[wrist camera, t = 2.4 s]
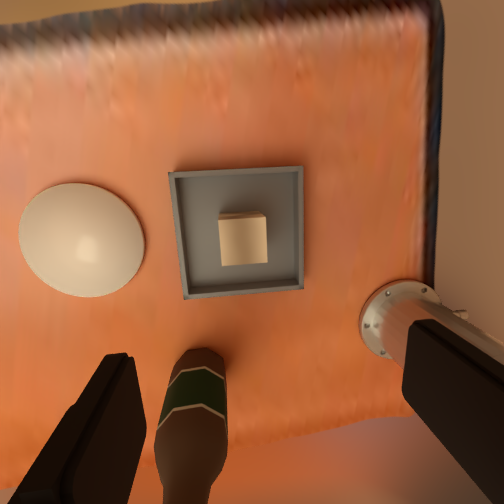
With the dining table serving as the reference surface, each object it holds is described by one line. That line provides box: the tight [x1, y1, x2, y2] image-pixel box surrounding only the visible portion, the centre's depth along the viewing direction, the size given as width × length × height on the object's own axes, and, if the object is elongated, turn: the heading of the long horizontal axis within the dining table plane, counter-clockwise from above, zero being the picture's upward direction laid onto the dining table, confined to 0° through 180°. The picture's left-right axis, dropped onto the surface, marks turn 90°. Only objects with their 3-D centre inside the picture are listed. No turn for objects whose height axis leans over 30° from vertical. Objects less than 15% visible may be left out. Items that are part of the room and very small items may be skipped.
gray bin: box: [168, 166, 304, 300], centre depth 35 cm, size 15×15×3 cm
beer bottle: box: [154, 348, 228, 504], centre depth 29 cm, size 8×8×24 cm
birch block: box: [218, 211, 268, 266], centre depth 33 cm, size 5×5×6 cm
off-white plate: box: [18, 183, 145, 297], centre depth 34 cm, size 14×14×1 cm
